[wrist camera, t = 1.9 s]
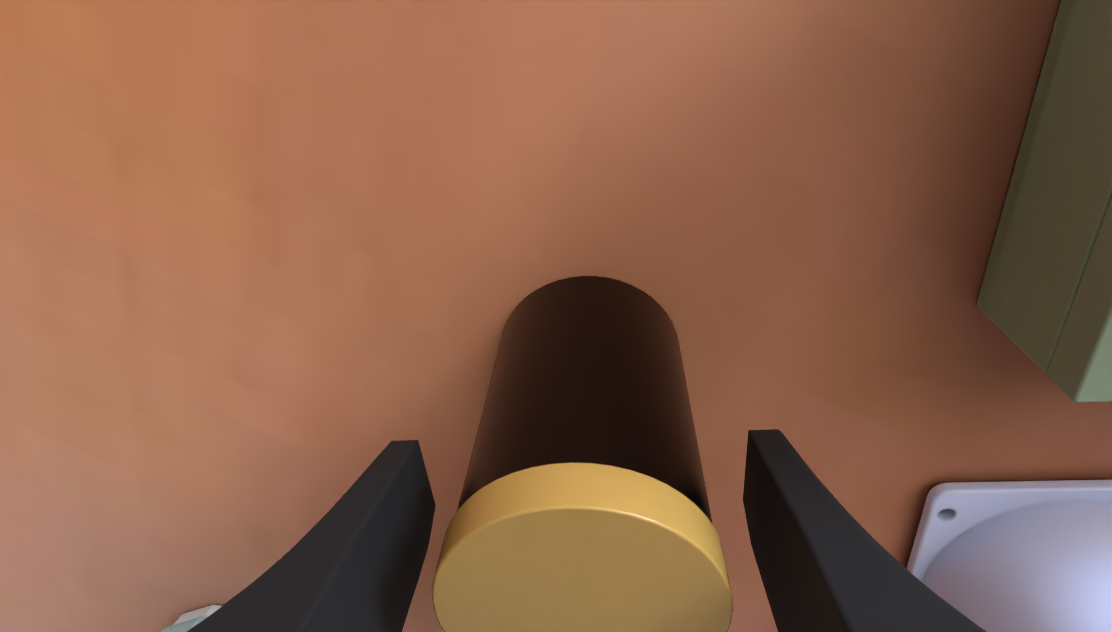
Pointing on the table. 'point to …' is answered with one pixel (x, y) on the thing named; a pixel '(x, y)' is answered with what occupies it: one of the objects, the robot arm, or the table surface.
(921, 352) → the table surface
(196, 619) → the disposable coffee cup
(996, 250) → the shelf
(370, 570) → the robot arm
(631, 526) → the canister
